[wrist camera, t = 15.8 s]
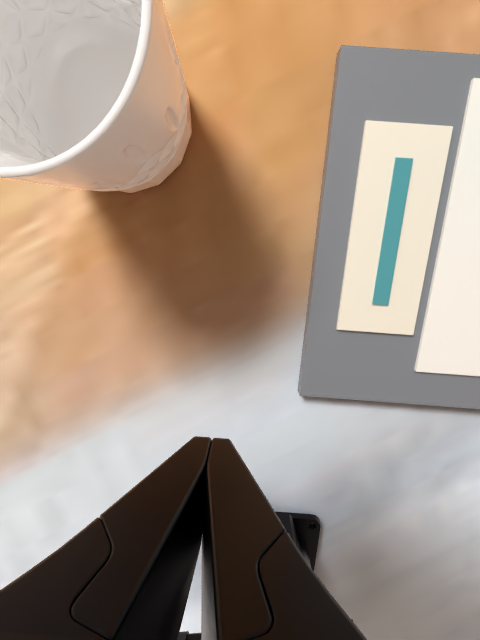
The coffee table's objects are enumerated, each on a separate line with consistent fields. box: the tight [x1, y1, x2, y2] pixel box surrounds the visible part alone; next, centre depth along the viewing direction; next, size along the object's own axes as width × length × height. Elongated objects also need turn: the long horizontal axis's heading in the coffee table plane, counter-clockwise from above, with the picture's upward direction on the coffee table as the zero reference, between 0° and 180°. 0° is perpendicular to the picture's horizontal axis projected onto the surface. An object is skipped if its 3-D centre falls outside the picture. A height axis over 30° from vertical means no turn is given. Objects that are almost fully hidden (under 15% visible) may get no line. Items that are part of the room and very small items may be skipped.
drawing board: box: [298, 45, 480, 409], centre depth 18 cm, size 17×16×1 cm
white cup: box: [0, 0, 192, 193], centre depth 13 cm, size 8×8×10 cm
